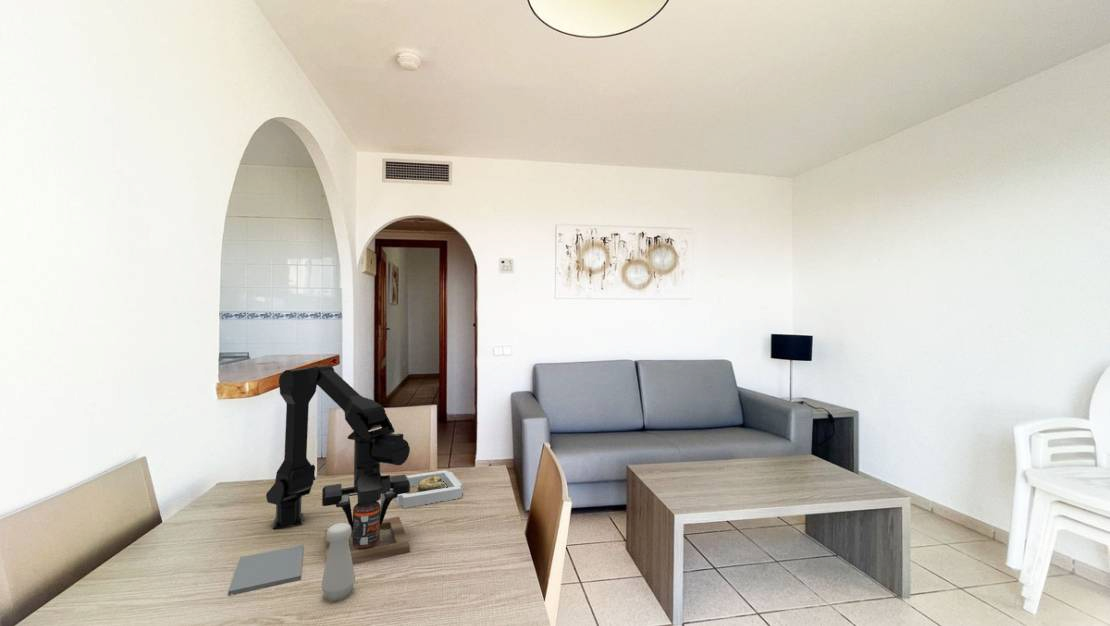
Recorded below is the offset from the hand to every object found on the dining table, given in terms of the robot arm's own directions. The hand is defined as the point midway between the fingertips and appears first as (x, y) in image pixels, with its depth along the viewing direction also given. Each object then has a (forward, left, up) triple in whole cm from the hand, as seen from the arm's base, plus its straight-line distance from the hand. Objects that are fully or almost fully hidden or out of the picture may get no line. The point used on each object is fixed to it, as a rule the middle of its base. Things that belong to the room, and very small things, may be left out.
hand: (366, 526), depth 106 cm
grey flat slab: (+3, -19, -4) cm, 20 cm away
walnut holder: (0, 0, -4) cm, 4 cm away
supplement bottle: (0, 0, -4) cm, 4 cm away
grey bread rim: (-26, +19, -4) cm, 32 cm away
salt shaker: (+19, -6, -4) cm, 20 cm away
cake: (-26, +21, -5) cm, 34 cm away
